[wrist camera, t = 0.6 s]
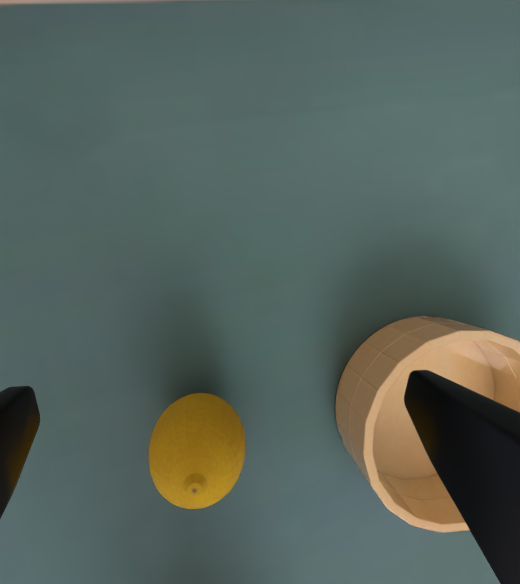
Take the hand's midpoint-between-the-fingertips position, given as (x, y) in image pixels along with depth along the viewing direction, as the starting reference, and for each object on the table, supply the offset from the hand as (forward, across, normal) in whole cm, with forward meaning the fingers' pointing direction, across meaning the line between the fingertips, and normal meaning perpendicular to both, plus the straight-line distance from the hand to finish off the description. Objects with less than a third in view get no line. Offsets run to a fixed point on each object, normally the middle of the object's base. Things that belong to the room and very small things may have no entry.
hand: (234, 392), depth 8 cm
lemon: (+13, +1, +12) cm, 18 cm away
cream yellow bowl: (+13, -15, +12) cm, 23 cm away
